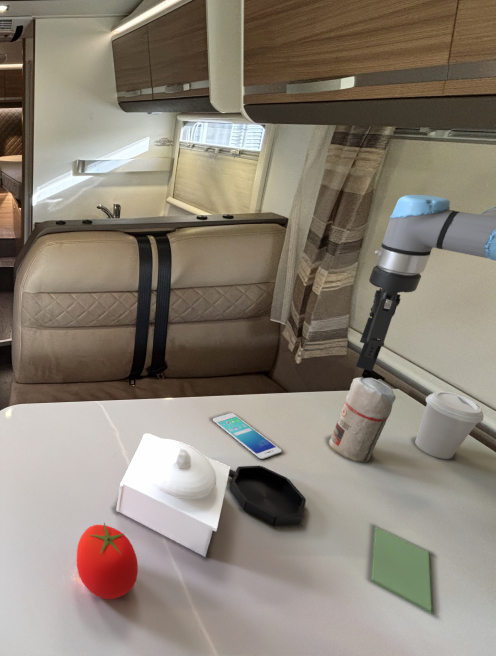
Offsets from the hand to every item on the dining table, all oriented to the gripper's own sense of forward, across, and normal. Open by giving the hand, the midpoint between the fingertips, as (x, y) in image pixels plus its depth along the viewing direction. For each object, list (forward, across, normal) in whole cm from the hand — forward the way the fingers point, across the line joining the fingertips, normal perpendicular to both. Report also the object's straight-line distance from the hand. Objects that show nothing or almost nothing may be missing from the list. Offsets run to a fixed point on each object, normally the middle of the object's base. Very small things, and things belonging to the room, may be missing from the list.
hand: (365, 355), depth 97 cm
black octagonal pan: (+27, +29, -14) cm, 42 cm away
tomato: (+27, +68, -28) cm, 78 cm away
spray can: (+27, -1, +3) cm, 27 cm away
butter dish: (+27, +44, -24) cm, 57 cm away
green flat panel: (+27, +29, +13) cm, 42 cm away
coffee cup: (+27, -15, +19) cm, 36 cm away
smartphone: (+27, +11, -17) cm, 34 cm away
